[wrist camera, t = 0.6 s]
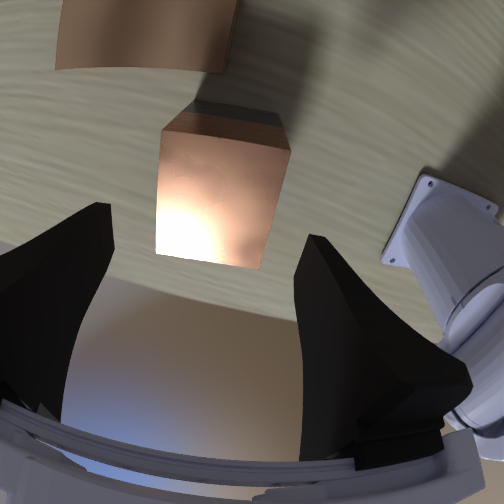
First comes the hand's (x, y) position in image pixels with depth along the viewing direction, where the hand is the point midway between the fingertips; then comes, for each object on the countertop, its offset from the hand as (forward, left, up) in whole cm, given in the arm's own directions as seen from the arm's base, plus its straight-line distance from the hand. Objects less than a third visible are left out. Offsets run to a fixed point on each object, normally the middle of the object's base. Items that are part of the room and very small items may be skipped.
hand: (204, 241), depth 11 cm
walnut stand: (+6, -10, -9) cm, 15 cm away
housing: (0, 0, -9) cm, 9 cm away
